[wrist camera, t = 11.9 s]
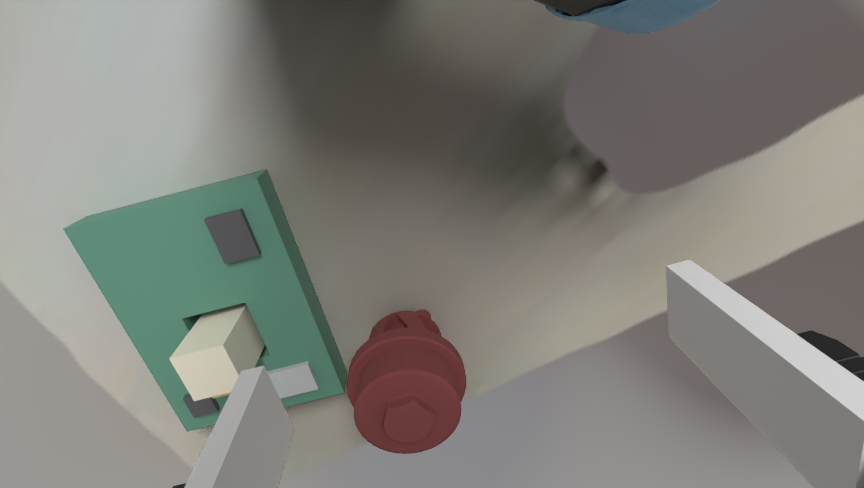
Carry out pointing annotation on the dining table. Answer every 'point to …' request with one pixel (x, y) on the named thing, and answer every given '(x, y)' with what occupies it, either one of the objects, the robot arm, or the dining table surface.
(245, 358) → the plug
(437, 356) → the mechanical component
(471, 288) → the dining table surface
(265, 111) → the dining table surface
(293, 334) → the board
